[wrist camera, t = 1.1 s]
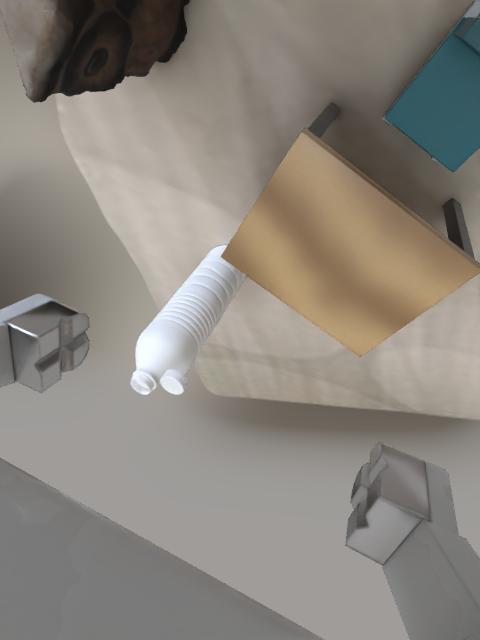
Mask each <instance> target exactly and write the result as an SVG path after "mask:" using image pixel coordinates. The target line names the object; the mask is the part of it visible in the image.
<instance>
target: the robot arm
mask: <svg viewBox="0 0 480 640" xmlns="http://www.w3.org/2000/svg"><path fill="white" fill-rule="evenodd" d="M89 327H90V326H89V317H88V316H87V315H86V314H85V313H83V312H81V311H79V310H76V309H74V308H72V307H70V306H68V305H66V304H64V303H61V302H59V301H56V300H54V299H52V298H50V297H48V296H46V295H43V294H36V295H33V296H31V297H28V298H26V299H24V300H22V301H19V302H17V303H15V304H13V305H10V306H8V307H6V308H4V309H1V310H0V387H2V386H5V385H8V384H12V383H15V381H16V382H19V383H21V384H23V385H25V386H27V387H29V388H31V389H34V390H36V391H38V392H40V393H42V392H44V391H45V390H46V389H48V388H49V387H51V386H52V385H53V384H55V383H56V382H58V381H59V380H60V379H61V376H62V372H66V371H70V370H74V369H75V368H76V367H78V366H79V365H80V364H81V363H82V362H83V360H84V359H85V357H86V356H87V353H88V350H89V339H88V337H87V335H86V333H85V331H86V330H88V328H89ZM351 504H352V506H353V508H354V511H353V513H352V514H351V516H350V517H349V519H348V528H347V536H346V544H345V546H347V547H349V548H351V549H353V550H355V551H356V552H359V553H360V554H362V555H364V556H366V557H368V558H370V559H372V560H373V561H375V562H377V563H379V564H381V565H383V571H384V573H385V576H386V579H387V581H388V584H389V586H390V589H391V592H392V594H393V597H394V599H395V602H396V605H397V607H398V610H399V612H400V615H401V618H402V620H403V623H404V625H405V628H406V631H407V633H408V636H409V638H410V640H480V558H479V557H478V555H477V554H476V553H475V551H474V550H473V548H472V547H471V545H470V544H469V542H468V541H467V540H466V539H465V538H463V537H461V536H459V534H458V528H457V522H456V516H455V511H454V504H453V498H452V493H451V486H450V480H449V474H448V472H447V471H446V469H444V468H441V467H439V466H436V465H434V464H432V463H429V462H427V461H424V460H421V459H418V458H416V457H414V456H411V455H409V454H407V453H404V452H402V451H400V450H398V449H395V448H393V447H390V446H388V445H386V444H384V443H381V442H378V443H377V444H376V445H375V446H374V448H373V449H372V451H371V454H370V462H369V463H366V464H363V466H362V467H361V469H360V471H359V473H358V475H357V477H356V480H355V483H354V486H353V490H352V495H351ZM0 640H325V639H323V638H321V637H319V636H317V635H316V634H314V633H312V632H310V631H309V630H307V629H305V628H303V627H301V626H300V625H298V624H296V623H294V622H293V621H291V620H289V619H287V618H285V617H283V616H282V615H280V614H278V613H276V612H275V611H273V610H271V609H269V608H268V607H266V606H264V605H262V604H260V603H258V602H257V601H255V600H253V599H251V598H250V597H248V596H246V595H244V594H243V593H241V592H239V591H237V590H235V589H234V588H232V587H230V586H228V585H227V584H225V583H223V582H221V581H219V580H218V579H216V578H214V577H212V576H210V575H208V574H206V573H205V572H203V571H202V570H200V569H198V568H196V567H194V566H193V565H191V564H189V563H187V562H185V561H183V560H182V559H180V558H178V557H177V556H175V555H173V554H171V553H169V552H168V551H166V550H164V549H162V548H160V547H158V546H157V545H155V544H153V543H152V542H150V541H148V540H146V539H144V538H142V537H141V536H139V535H137V534H135V533H134V532H132V531H130V530H128V529H127V528H124V527H123V526H121V525H119V524H117V523H116V522H114V521H112V520H110V519H109V518H107V517H105V516H103V515H102V514H100V513H98V512H96V511H94V510H93V509H91V508H89V507H87V506H85V505H84V504H82V503H80V502H78V501H76V500H75V499H73V498H71V497H69V496H67V495H65V494H64V493H62V492H60V491H59V490H57V489H55V488H53V487H51V486H49V485H48V484H46V483H44V482H42V481H41V480H39V479H37V478H35V477H34V476H32V475H30V474H28V473H26V472H25V471H23V470H21V469H19V468H17V467H15V466H14V465H12V464H10V463H9V462H7V461H5V460H3V459H1V458H0Z"/></svg>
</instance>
